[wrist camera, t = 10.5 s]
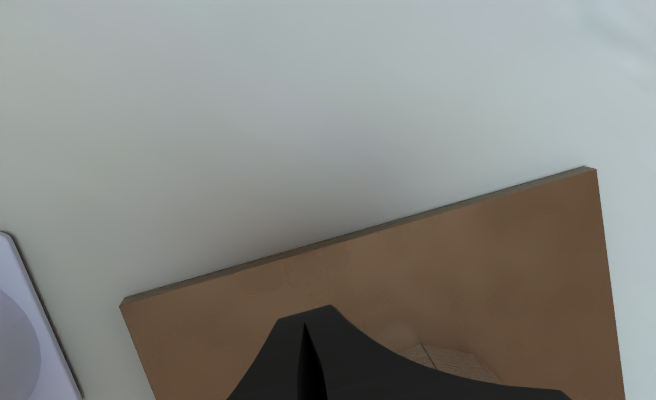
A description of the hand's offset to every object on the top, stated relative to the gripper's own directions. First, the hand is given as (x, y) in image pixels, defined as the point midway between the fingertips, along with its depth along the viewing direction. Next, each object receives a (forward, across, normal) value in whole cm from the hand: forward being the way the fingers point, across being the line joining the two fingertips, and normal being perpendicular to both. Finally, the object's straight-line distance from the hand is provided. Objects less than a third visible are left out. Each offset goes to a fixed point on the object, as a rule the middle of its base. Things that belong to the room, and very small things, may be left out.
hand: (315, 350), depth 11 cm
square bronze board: (+9, -3, +11) cm, 14 cm away
